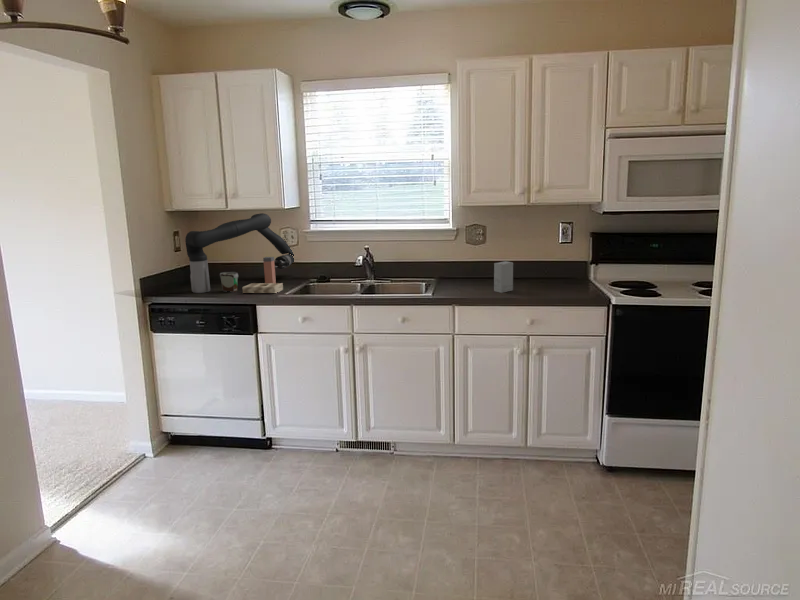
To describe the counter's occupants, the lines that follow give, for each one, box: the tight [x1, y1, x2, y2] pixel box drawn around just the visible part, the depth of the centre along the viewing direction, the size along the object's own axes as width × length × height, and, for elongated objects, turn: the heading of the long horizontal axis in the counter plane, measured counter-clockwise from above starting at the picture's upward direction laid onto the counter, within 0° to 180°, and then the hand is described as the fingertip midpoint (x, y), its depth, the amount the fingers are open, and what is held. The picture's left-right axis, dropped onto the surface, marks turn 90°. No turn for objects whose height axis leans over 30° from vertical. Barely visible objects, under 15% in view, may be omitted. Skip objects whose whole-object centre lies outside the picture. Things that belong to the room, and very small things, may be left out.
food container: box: [219, 271, 239, 293], centre depth 309 cm, size 12×6×10 cm, turn 56°
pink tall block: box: [262, 256, 277, 283], centre depth 315 cm, size 4×4×17 cm
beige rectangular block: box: [242, 282, 284, 294], centre depth 304 cm, size 18×12×4 cm, turn 81°
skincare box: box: [493, 260, 514, 294], centre depth 285 cm, size 8×6×15 cm
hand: (272, 265), depth 319 cm, fingers open, 8 cm apart
